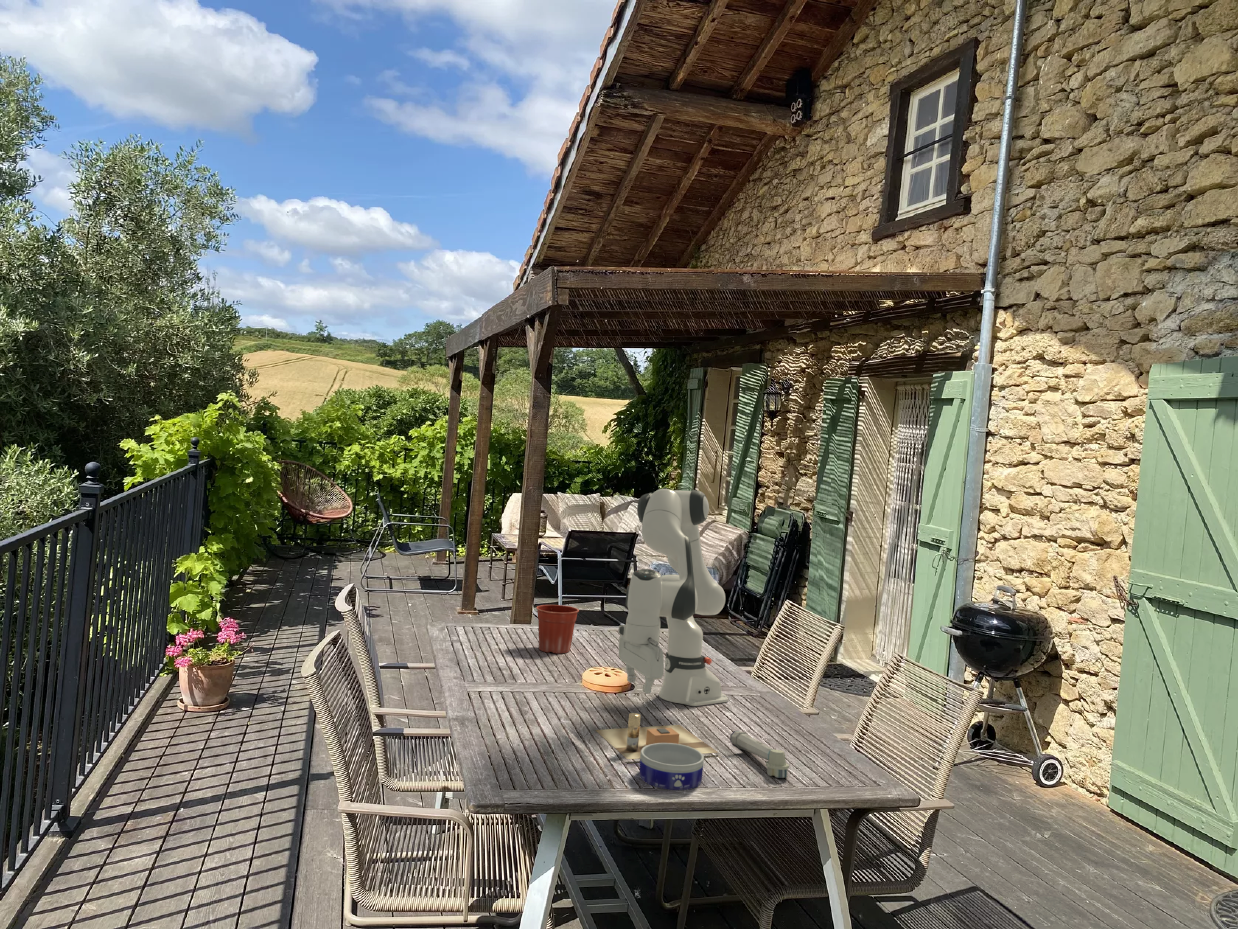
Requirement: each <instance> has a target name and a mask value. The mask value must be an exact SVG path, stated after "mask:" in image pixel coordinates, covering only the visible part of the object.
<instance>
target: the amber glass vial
mask: <svg viewBox="0 0 1238 929" xmlns="http://www.w3.org/2000/svg"><path fill="white" fill-rule="evenodd" d="M641 718H642V717H641V714H640V713H638V712H637V713H636V712H630V713H629V714H628V722H627V723H628V724H627V728H628V734H627V746H626V750H627V751H630V752H636V751H638V742H639V730H640V727H641Z"/></svg>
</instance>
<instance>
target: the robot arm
mask: <svg viewBox="0 0 1238 929" xmlns="http://www.w3.org/2000/svg"><path fill="white" fill-rule="evenodd" d="M636 506H637V508H636V513H637V514H636V515H637V517H638V520H639V522H640V523H641V537H642V539H643V541H644V542H645V544H646V545H647V546H648V547H649V548H650V549H652V550H653V551H654V552H656V553H658V554H661V555H664V556H666V557H667V562H668V564H669V566H670V567H671V568H672V569H673V570H674V571H675V572H676V573H677V574H664V575H663V574H662V575H661V573H660V572H658V570H657V571H656V570H654V569H650V568H642V569H637V570H635V571H634V572H632V574H631V577H630V580H629V582H630V583H629V585H627V587H626V593H625V606H626V607H627V610H628V611H627V612H628V614H627V617H626V620H625V624H622V625H619V626H618V629H617V630H618V634H619V638H618V657H619V661H621V662H622V663H624V664H625V669H626V675H627V678H626V680H627V682H629V683H630V684H632V683H636V681H637V680H636V678H637V676H636V674H635V673H636V672H635V671H637V672H638V673H639V674H641V675H643V676H644V681H645V682H644V684H643V685H642V690H641V691H642V692H643V693H644V694H651V693H652V687H653V684H654V682H655V680H656V681H657V680H661V679H662V680H663V681H662V685H661V687H660V690H659V693H658V697H660V699H662V700H664V701H667V702H671V703H676V704H681V705H685V706H686V705H687V706H690V707H699V706H706V705H714V704H723V703H728V702H729V698H728V696H727V695H726V694H725V693H723V692H722V684H721V680H720V679H719V678H718V677H717V676H716V675H715V674H714V673H713V672H712V671H711V670H710V669H709V668H707V667H706V664H707V665H710V666H711V665H712V663H713V659H712V658H709V656H706V657H705V656H704V655H703V653H702V652H703V640H704V638H703V637H704V632H703V629H702V628H701V627H700V626H699V625H698V624H697V622H696V621H695V618H694V615H701V616H715V615H718V614H720V612H721V611H722V610H723V608H724V607H725V604H726V593H725V591H724V589H723V587H722V586H721V585H720V584H719V583H718V582H717V581H716V580H715V579H714V578H713V576H712V574H711V573H710V571H709V570H708V567H707V566H706V562H705V560H704V556H703V552H702V543H701V534H700V529H699V525H702V524H703V523H704V522H705V521H706V520H707V519H708V515H709V512H710V503H709V501H708V498H707V495H706V494H705V493H704V492H703V491H700V490H696V489H692V490H680V489H675V490H672V489H669V488H659V489H657V490H656V491H653V492H649V493H645V494H642V495H641V496H640V498H639V499H638V501H637V505H636ZM661 617H664V618H666V623H667V628H668V632H667V636H668V638H667V651H666V652H665V655H664V651H663V649H662V648H661V646H660V637H661V636H660V635H661ZM664 656H665V659H664Z"/></svg>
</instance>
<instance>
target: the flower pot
mask: <svg viewBox="0 0 1238 929" xmlns="http://www.w3.org/2000/svg"><path fill="white" fill-rule="evenodd" d="M535 609H536V610H537V618H538V620H537V621H538V624H537V625H538V650H539V651H541V652H544V653H550V652H551V653H552V654H566V653H569V652H570V651H571V649H572V641H573V635H574V630H575V629H574V628H575V624H576V621H577V617H578V613H579V612H580V609H578V608H577V607H575V606H574V607H573V606H570V605H562V604H559V605H558V604H542V605H537V606H536V608H535Z"/></svg>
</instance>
